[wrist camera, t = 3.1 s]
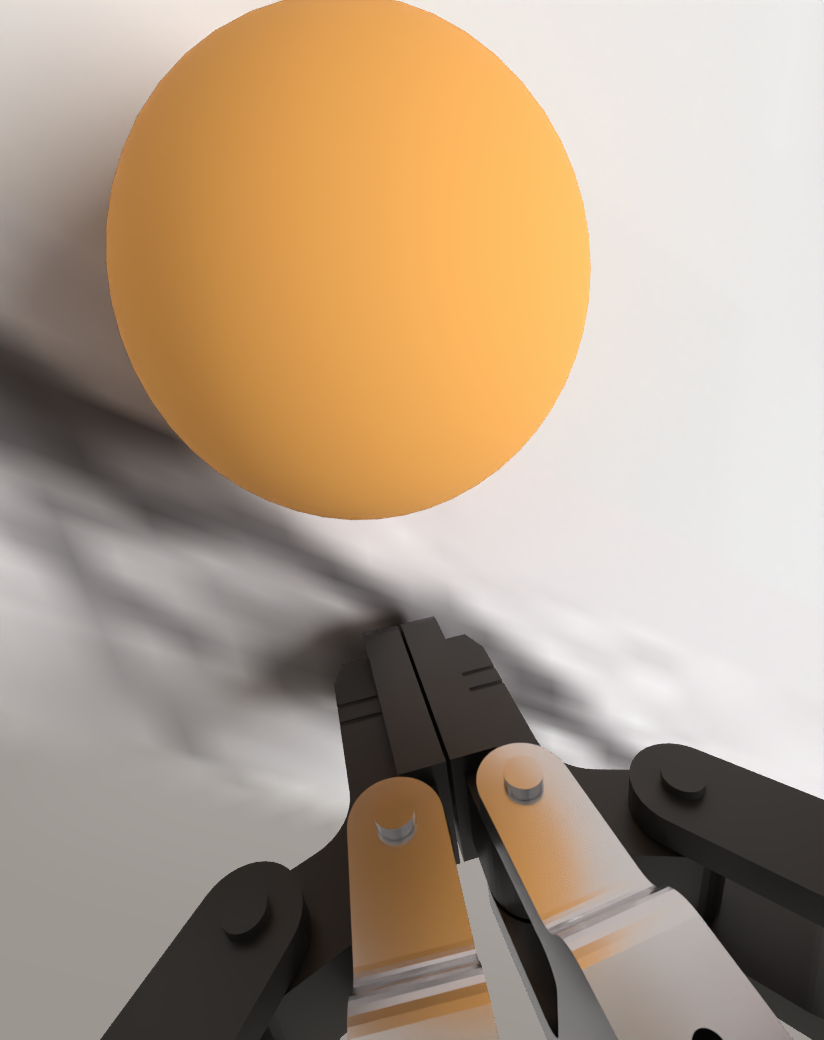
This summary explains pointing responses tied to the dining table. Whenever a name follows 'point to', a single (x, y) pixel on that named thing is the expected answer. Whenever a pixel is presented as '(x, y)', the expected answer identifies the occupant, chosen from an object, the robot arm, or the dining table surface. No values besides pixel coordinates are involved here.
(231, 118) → the ball
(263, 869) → the robot arm
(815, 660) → the dining table surface
